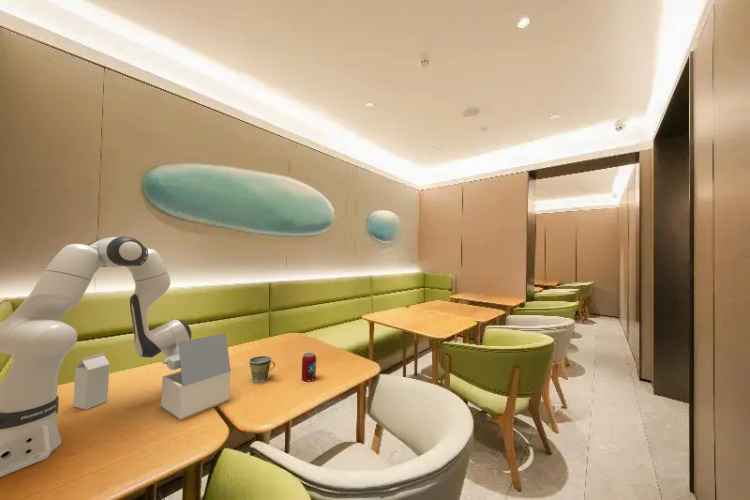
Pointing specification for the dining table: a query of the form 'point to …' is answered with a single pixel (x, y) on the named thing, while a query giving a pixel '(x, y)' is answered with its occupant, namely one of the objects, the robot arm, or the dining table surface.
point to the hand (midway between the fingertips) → (207, 360)
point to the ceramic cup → (260, 368)
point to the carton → (193, 394)
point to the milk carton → (91, 382)
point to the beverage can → (308, 366)
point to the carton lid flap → (203, 358)
